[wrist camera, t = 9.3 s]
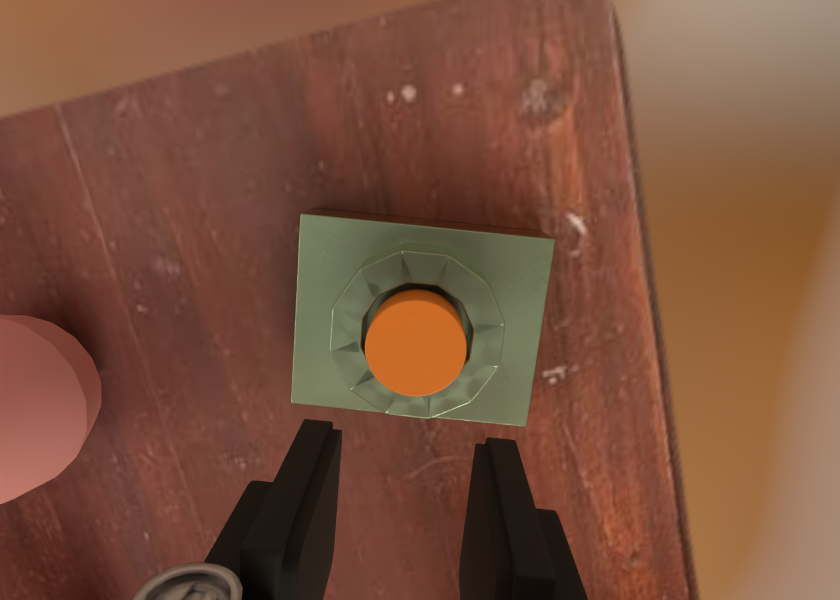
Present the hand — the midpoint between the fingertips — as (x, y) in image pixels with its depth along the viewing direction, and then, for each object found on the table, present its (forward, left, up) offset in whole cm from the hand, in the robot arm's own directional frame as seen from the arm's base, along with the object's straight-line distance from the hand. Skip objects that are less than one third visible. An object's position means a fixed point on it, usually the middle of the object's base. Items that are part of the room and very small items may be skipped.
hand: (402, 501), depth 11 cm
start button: (0, 0, -11) cm, 11 cm away
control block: (0, 0, -15) cm, 15 cm away
